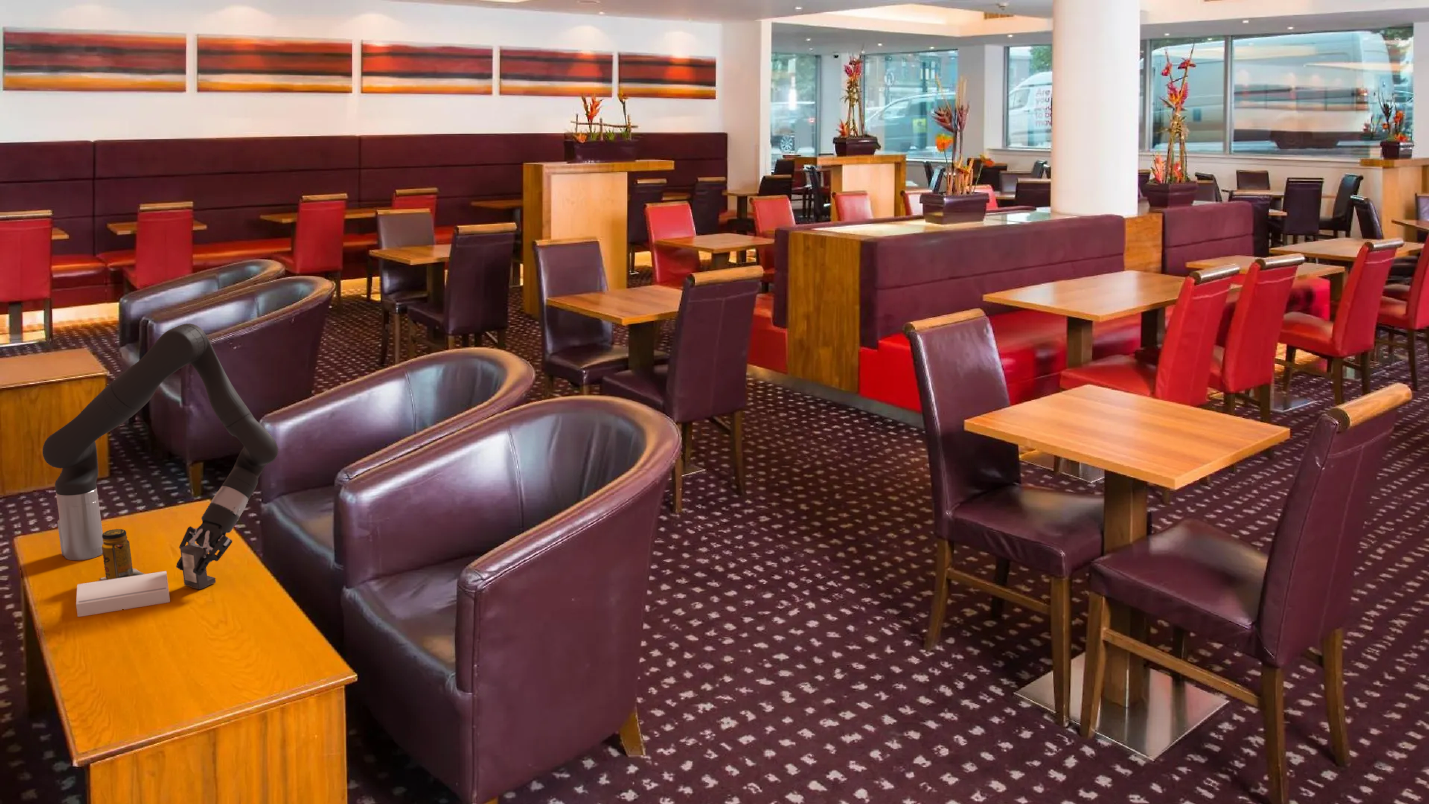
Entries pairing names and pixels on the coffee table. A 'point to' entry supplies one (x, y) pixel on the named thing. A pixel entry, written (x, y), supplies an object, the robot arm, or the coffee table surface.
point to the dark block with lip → (189, 561)
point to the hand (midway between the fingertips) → (188, 571)
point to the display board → (122, 593)
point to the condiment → (117, 555)
